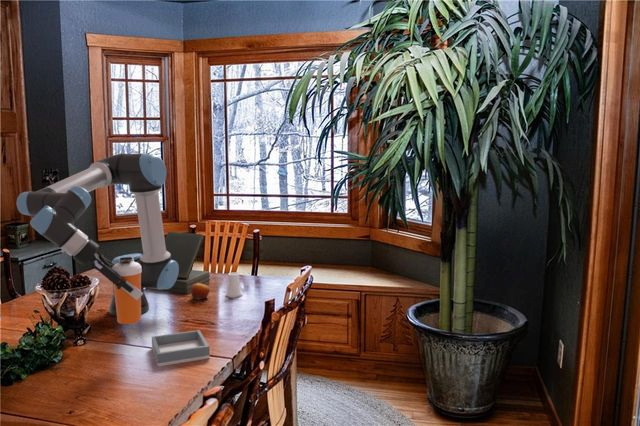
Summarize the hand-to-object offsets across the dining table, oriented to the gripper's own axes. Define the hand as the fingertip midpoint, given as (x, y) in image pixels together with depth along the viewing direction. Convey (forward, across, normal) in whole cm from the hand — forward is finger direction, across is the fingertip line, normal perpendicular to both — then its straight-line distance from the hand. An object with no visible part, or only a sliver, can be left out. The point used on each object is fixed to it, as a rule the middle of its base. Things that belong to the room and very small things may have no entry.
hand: (138, 292), depth 170 cm
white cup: (+47, -55, +16) cm, 74 cm away
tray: (+24, +2, -7) cm, 25 cm away
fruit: (+37, -56, +5) cm, 67 cm away
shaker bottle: (+4, 0, -9) cm, 10 cm away
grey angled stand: (+33, -80, +1) cm, 87 cm away
